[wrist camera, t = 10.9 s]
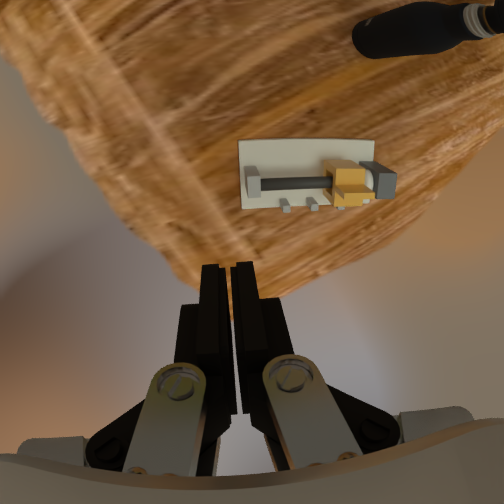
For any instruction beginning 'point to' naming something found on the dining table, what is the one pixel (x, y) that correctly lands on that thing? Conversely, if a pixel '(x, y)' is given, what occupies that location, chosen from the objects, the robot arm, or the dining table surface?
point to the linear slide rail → (303, 171)
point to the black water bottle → (426, 28)
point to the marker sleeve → (346, 183)
